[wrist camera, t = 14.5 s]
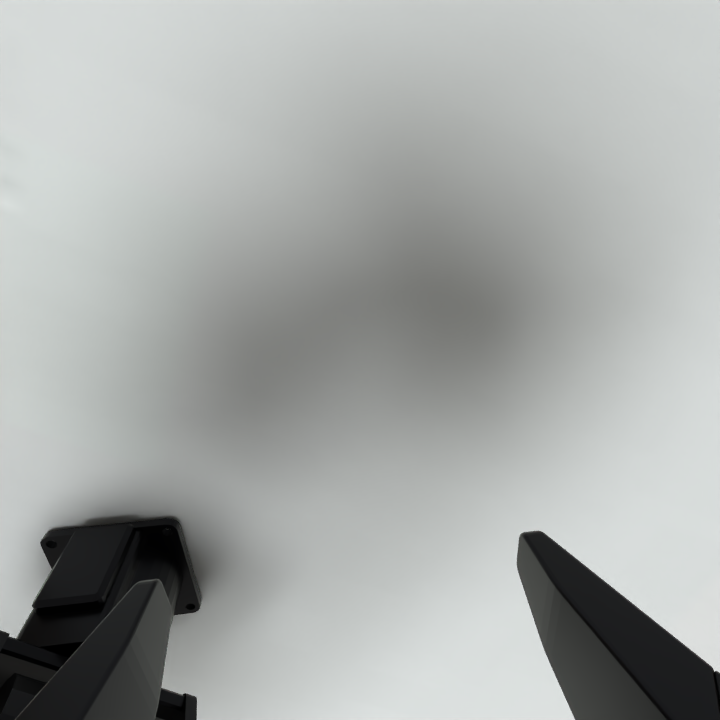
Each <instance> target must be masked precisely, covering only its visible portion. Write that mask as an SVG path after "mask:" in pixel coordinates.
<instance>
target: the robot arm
mask: <svg viewBox="0 0 720 720" xmlns="http://www.w3.org/2000/svg"><path fill="white" fill-rule="evenodd" d="M166 528H169V529H171V530H168V529H166ZM40 543H41V547H42V549H43V551H44V553H45V555H46V557H47V559H48V562H49V564H50V566H51V568H52V571H51V573H50V574H49V576H48V578H47V579H46V581H45V583H44V585H43V586H42V588H41V590H40V591H39V593H38V595H37V597H36V598H35V600H34V602H33V605H32V606H33V610H32V612H31V613H30V615H29V617H28V619H27V620H26V622H25V624H24V626H23V627H22V629H21V631H20V633H19V634H18V636H17V638H16V639H15V638H12V637H9V633H6V632H3V631H0V720H196V719H197V698H196V697H195V696H192V695H189V694H186V693H185V694H183V695H181V694H178V693H175V692H172V691H169V690H166V689H163V688H161V685H162V678H163V671H164V665H165V658H166V651H167V645H168V638H169V631H170V626H171V623H172V619H173V615H178V614H187V613H194V612H196V611H198V610H199V609H200V605H201V596H200V593H199V589H198V586H197V583H196V579H195V576H194V572H193V569H192V565H191V562H190V559H189V555H188V552H187V548H186V545H185V541H184V538H183V535H182V531H181V528H180V525H179V523H178V522H177V521H176V520H174V519H158V520H148V521H139V522H130V523H120V524H111V525H101V526H92V527H82V528H73V529H64V530H54V531H49V532H47V533H46V534H45V536H44V537H43V539H42V540H41V542H40ZM517 568H518V573H519V576H520V579H521V582H522V585H523V588H524V591H525V594H526V597H527V600H528V603H529V606H530V609H531V612H532V615H533V618H534V621H535V624H536V627H537V630H538V633H539V636H540V639H541V642H542V645H543V647H544V650H545V653H546V655H547V657H548V660H549V662H550V664H551V667H552V669H553V671H554V673H555V676H556V678H557V680H558V682H559V685H560V687H561V689H562V691H563V693H564V696H565V698H566V700H567V702H568V705H569V707H570V709H571V711H572V714H573V716H574V718H575V720H720V673H719V672H718V671H715V672H714V670H713V668H712V667H711V666H710V665H709V664H708V663H706V662H705V661H704V660H703V659H701V658H700V657H699V656H698V655H696V654H695V653H694V652H693V651H691V650H690V649H689V648H688V647H686V646H685V645H684V644H683V643H681V642H680V641H679V640H678V639H676V638H675V637H674V636H673V635H671V634H670V633H669V632H668V631H666V630H665V629H664V628H663V627H661V626H660V625H659V624H657V623H656V622H655V621H654V620H652V619H651V618H650V617H649V616H647V615H646V614H645V613H644V612H642V611H641V610H640V609H639V608H637V607H636V606H635V605H634V604H632V603H631V602H630V601H629V600H627V599H626V598H625V597H624V596H622V595H621V594H620V593H619V592H617V591H616V590H615V589H614V588H612V587H611V586H610V585H609V584H607V583H606V582H605V581H604V580H602V579H601V578H600V577H599V576H597V575H596V574H595V573H594V572H592V571H591V570H590V569H589V568H587V567H586V566H585V565H584V564H582V563H581V562H580V561H579V560H577V559H576V558H575V557H574V556H572V555H571V554H570V553H569V552H567V551H566V550H565V549H563V548H562V547H561V546H560V545H558V544H557V543H556V542H555V541H553V540H552V539H551V538H550V537H548V536H547V535H546V534H545V533H543V532H541V531H531V532H524V533H521V535H520V537H519V544H518V554H517Z"/></svg>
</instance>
